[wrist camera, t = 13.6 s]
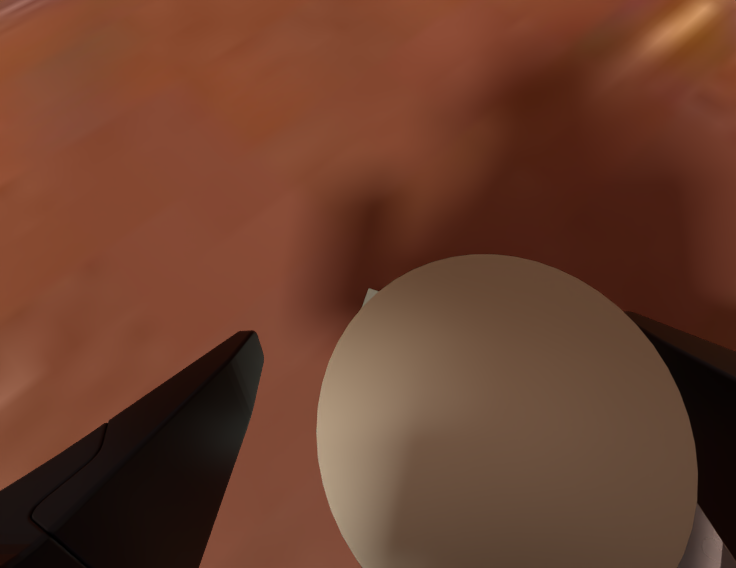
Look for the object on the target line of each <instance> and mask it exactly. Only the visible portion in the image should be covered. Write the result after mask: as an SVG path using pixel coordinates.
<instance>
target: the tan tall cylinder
mask: <svg viewBox="0 0 736 568" xmlns="http://www.w3.org/2000/svg"><path fill="white" fill-rule="evenodd" d="M316 433H317V449H318V460H319V466H320V471H321V476H322V482H323V486H324V489H325V493H326V496H327V499H328V502H329V505H330V509H331V511H332V514H333V516H334V518H335V520H336V523H337V525H338V527H339V529H340V532H341V534H342V536H343V538H344V539H345V541H346V543H347V544H348V546H349V548H350V549H351V551H352V553H353V554H354V556H355V558H356V559H357V561H358V562H359V564H360V565H361V566H362V567H363V568H677V567H678V565H679V563H680V561H681V559H682V557H683V555H684V552H685V549H686V546H687V543H688V540H689V537H690V533H691V530H692V527H693V521H694V515H695V509H696V503H697V485H698V468H697V459H696V449H695V442H694V438H693V433H692V429H691V425H690V420H689V416H688V414H687V411H686V408H685V405H684V403H683V400H682V397H681V394H680V391H679V389H678V387H677V385H676V383H675V381H674V379H673V377H672V375H671V373H670V371H669V369H668V367H667V366H666V364H665V363H664V361H663V360H662V358H661V357H660V355H659V353H658V352H657V350H656V349H655V347H654V346H653V344H652V343H651V342H650V341H649V339H648V338H647V337H646V336H645V335H644V333H643V332H642V331H641V330H640V328H639V327H638V326H637V325H636V324H635V323H634V322H633V321H632V320H631V319H630V318H629V317H628V316H627V315H626V314H625V313H624V312H623V311H622V310H621V309H620V308H619V307H618V306H616V305H615V304H614V303H613V302H611V301H610V300H609V299H608V298H606V297H605V296H604V295H603V294H601V293H600V292H599V291H597V290H595V289H594V288H592V287H591V286H589V285H588V284H586V283H584V282H583V281H581V280H580V279H578V278H576V277H573V276H571V275H569V274H567V273H565V272H563V271H561V270H559V269H557V268H554V267H551V266H548V265H545V264H542V263H540V262H537V261H532V260H528V259H524V258H519V257H515V256H506V255H497V254H471V255H463V256H456V257H450V258H446V259H442V260H438V261H434V262H431V263H428V264H426V265H423V266H421V267H418V268H416V269H413V270H411V271H409V272H408V273H406V274H404V275H402V276H400V277H399V278H397V279H395V280H394V281H392V282H391V283H389V284H388V285H387V286H385V287H384V288H383V289H381V290H380V291H379V292H377V293H376V294H375V295H374V296H373V297H372V298H371V299H370V300H369V301H368V302H367V303H366V304H365V305H364V306H363V307H362V308H361V309H360V311H359V312H358V313H357V314H356V316H355V317H354V318H353V319H352V321H351V322H350V323H349V325H348V326H347V328H346V330H345V331H344V333H343V334H342V336H341V338H340V339H339V341H338V343H337V345H336V347H335V350H334V352H333V354H332V356H331V359H330V361H329V363H328V366H327V370H326V373H325V376H324V380H323V383H322V387H321V393H320V398H319V404H318V414H317V432H316Z"/></svg>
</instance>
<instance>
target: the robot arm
mask: <svg viewBox="0 0 736 568" xmlns="http://www.w3.org/2000/svg"><path fill="white" fill-rule="evenodd" d="M624 313H625V314H626V315H627V316H628V317H629V318H630V319H631V320H632V321H633V322H634V323H635V324H636V325H637V326H638V327H639V328H640V330H641V331H642V332H643V333H644V335H645V336H646V337H647V338H648V339H649V341H650V342H651V343H652V344H653V346H654V347H655V349H656V350H657V352H658V353H659V355H660V357H661V358H662V360H663V361H664V363H665V364H666V366H667V367H668V369H669V371H670V373H671V375H672V377H673V379H674V381H675V383H676V385H677V387H678V389H679V391H680V394H681V397H682V400H683V403H684V405H685V408H686V411H687V414H688V416H689V420H690V425H691V429H692V433H693V438H694V442H695V449H696V459H697V468H698V485H697V504H698V505H699V507H700V508H701V510H702V511H703V513H704V514H705V516H706V517H707V519H708V520H709V522H710V524H711V525H712V527H713V528H714V530H715V531H716V533H717V534H718V536H719V537H720V539H721V540H722V542H723V543H724V545H725V546H726V548H727V549H728V551H729V552H730V554H731V555H732V557H733V558H734V560H735V561H736V352H735V351H732V350H729V349H727V348H724V347H722V346H719V345H717V344H714V343H711V342H709V341H706V340H704V339H701V338H698V337H696V336H693V335H691V334H688V333H685V332H683V331H680V330H678V329H675V328H672V327H670V326H667V325H665V324H662V323H659V322H657V321H654V320H652V319H649V318H646V317H644V316H641V315H639V314H636V313H634V312H629V311H626V312H624ZM263 363H264V355H263V351H262V348H261V345H260V342H259V339H258V335H257V333H256V332H255V331H253V330H251V331H239V332H237V333H236V334H234V335H233V336H231V337H230V338H228V339H227V340H226V341H224V342H223V343H221V344H220V345H218V346H217V347H215V348H214V349H212V350H211V351H209V352H208V353H207V354H205V355H204V356H202V357H201V358H199V359H198V360H196V361H195V362H193V363H192V364H190V365H189V366H188V367H186V368H185V369H183V370H182V371H180V372H179V373H177V374H176V375H174V376H173V377H172V378H170V379H169V380H167V381H166V382H164V383H163V384H161V385H160V386H158V387H157V388H155V389H154V390H153V391H151V392H150V393H148V394H147V395H145V396H144V397H142V398H141V399H139V400H138V401H136V402H135V403H134V404H132V405H131V406H129V407H128V408H126V409H125V410H123V411H122V412H120V413H119V414H118V415H116V416H115V417H113V418H112V419H110V420H109V422H108V423H104V424H103V425H101V426H100V427H98V428H97V429H96V430H94V431H93V432H91V433H90V434H88V435H87V436H85V437H84V438H82V439H81V440H79V441H78V442H76V443H75V444H73V445H72V446H70V447H69V448H67V449H66V450H64V451H63V452H61V453H60V454H58V455H57V456H55V457H54V458H52V459H50V460H49V461H47V462H46V463H44V464H43V465H41V466H39V467H38V468H36V469H35V470H33V471H31V472H30V473H28V474H27V475H25V476H23V477H22V478H20V479H19V480H17V481H15V482H14V483H12V484H11V485H9V486H7V487H6V488H4V489H3V490H1V491H0V568H199V566H200V563H201V560H202V557H203V554H204V551H205V548H206V545H207V542H208V540H209V537H210V534H211V531H212V528H213V525H214V522H215V519H216V517H217V514H218V511H219V508H220V505H221V502H222V499H223V496H224V493H225V491H226V488H227V485H228V482H229V479H230V476H231V473H232V470H233V467H234V465H235V462H236V459H237V456H238V453H239V450H240V447H241V444H242V442H243V439H244V436H245V433H246V430H247V427H248V424H249V421H250V418H251V415H252V411H253V407H254V403H255V398H256V394H257V389H258V385H259V381H260V376H261V372H262V367H263Z"/></svg>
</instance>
